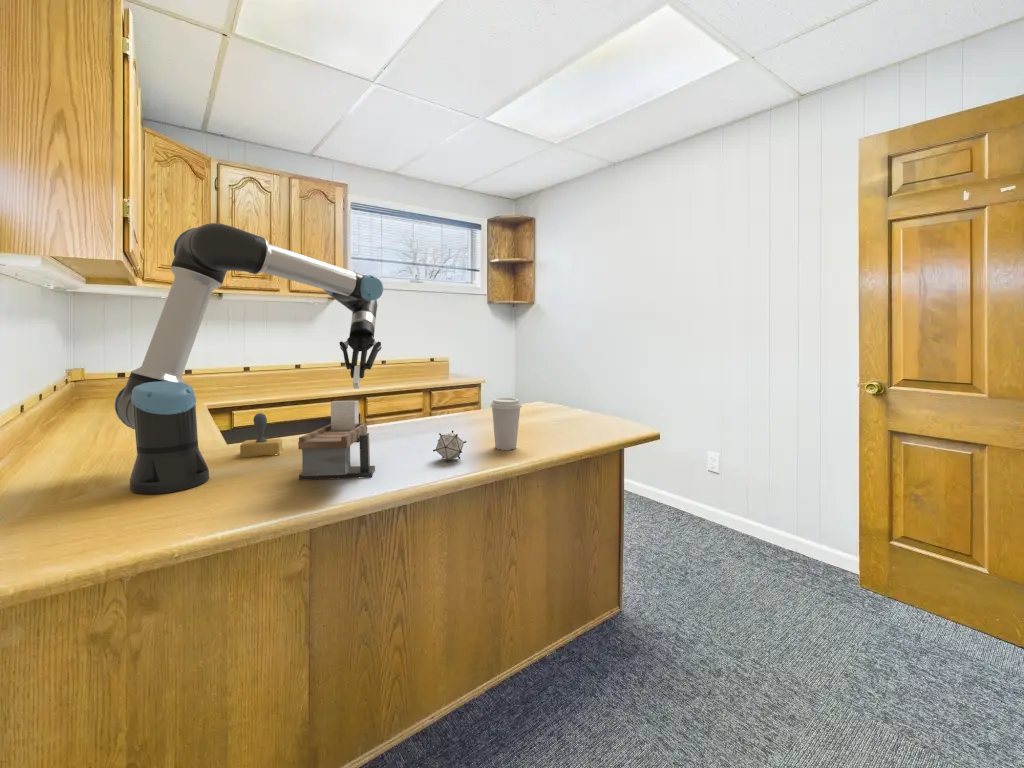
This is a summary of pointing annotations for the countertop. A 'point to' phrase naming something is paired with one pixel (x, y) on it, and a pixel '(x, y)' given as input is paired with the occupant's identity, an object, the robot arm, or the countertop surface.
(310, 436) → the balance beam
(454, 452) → the game die
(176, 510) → the countertop surface
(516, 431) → the coffee cup
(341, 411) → the light grey block
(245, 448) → the rubber stamp
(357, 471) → the pivot stand
